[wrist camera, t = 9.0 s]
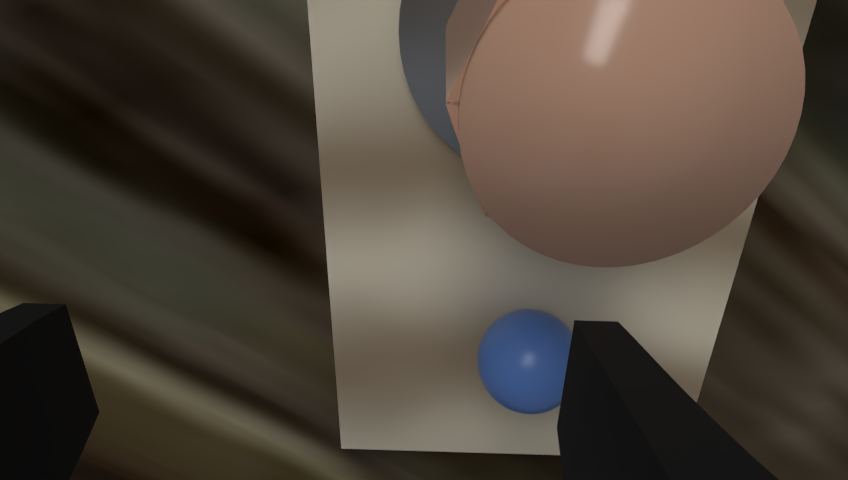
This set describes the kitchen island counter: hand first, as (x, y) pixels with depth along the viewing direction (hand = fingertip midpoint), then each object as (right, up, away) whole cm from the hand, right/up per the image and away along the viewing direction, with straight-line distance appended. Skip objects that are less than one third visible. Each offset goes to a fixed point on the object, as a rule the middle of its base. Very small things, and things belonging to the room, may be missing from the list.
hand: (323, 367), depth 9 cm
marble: (+5, -2, +9) cm, 10 cm away
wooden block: (+5, +7, +6) cm, 10 cm away
